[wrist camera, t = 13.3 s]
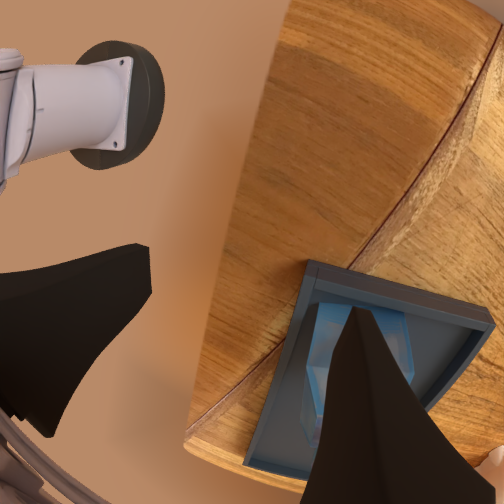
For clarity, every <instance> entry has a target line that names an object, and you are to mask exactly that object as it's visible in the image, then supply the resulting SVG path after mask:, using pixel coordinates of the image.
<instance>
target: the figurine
mask: <svg viewBox="0 0 504 504" xmlns="http://www.w3.org/2000/svg"><path fill="white" fill-rule="evenodd" d="M488 455H489V456H488V457H487V458H486V459H485V460H484V461H483V462H482V463H481V464H480V466H477V467H475V468H474V469H475V470H476V471H477V472H478V473H479V474H480V475H481V476H482V477H484V478H485V479H486V480H487V481H488V482H489V483H490V484H491V485H492V486H494V487H495V489H496V504H504V445H502V446H499V447H497V448H495V449H493V450H492V451H491V452H489V454H488Z"/></svg>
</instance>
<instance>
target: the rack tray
mask: <svg viewBox="0 0 504 504" xmlns="http://www.w3.org/2000/svg"><path fill="white" fill-rule="evenodd" d="M320 302H322V303H333V304H345V305H357V306H370V307H384V308H390V309H394V310H397V311H401V312H404V315H405V320H406V325H407V330H408V335H409V341H410V346H411V352H412V359H413V366H414V373H415V374H414V376H413V379H412V381H411V383H410V387H411V389H412V390H413V392H414V394H415V395H416V397H417V398H418V400H419V401H420V403H421V404H422V406H423V407H424V409H425V410H426V412H428V411H429V410H430V409H431V408H432V407H433V406H434V405H435V404H436V403H437V402H438V401H439V400H440V399H441V398H442V397H443V395H444V394H445V393H446V392H447V391H448V390H449V389H450V387H451V386H452V385H453V384H454V383H455V382H456V380H457V379H458V378H459V377H460V376H461V374H462V373H463V372H464V371H465V369H466V368H467V367H468V365H469V364H470V363H471V361H472V360H473V359H474V357H475V356H476V355H477V353H478V352H479V351H480V349H481V348H482V346H483V345H484V343H485V342H486V341H487V339H488V338H489V336H490V335H491V333H492V332H493V330H494V328H495V327H496V324H495V322H494V320H493V318H492V316H491V314H490V312H489V311H488V309H487V308H485V307H481V306H478V305H474V304H471V303H467V302H464V301H460V300H457V299H453V298H449V297H446V296H442V295H439V294H435V293H432V292H428V291H424V290H421V289H417V288H413V287H410V286H406V285H403V284H399V283H395V282H392V281H388V280H384V279H381V278H377V277H373V276H370V275H366V274H362V273H359V272H355V271H351V270H348V269H344V268H340V267H336V266H333V265H329V264H325V263H322V262H318V261H314V260H310V259H309V260H308V262H307V266H306V269H305V273H304V276H303V280H302V284H301V287H300V291H299V295H298V298H297V302H296V305H295V309H294V312H293V316H292V319H291V322H290V326H289V329H288V333H287V336H286V339H285V342H284V346H283V349H282V352H281V355H280V359H279V362H278V365H277V368H276V371H275V374H274V377H273V380H272V383H271V386H270V389H269V392H268V395H267V398H266V401H265V404H264V407H263V410H262V413H261V415H260V418H259V421H258V424H257V427H256V429H255V432H254V435H253V437H252V440H251V443H250V445H249V448H248V451H247V453H246V456H245V459H244V461H243V464H242V465H244V466H248V467H251V468H254V469H258V470H261V471H265V472H269V473H273V474H277V475H281V476H285V477H289V478H294V479H299V480H304V481H308V479H309V476H310V473H311V470H312V468H311V463H312V459H313V455H314V451H315V449H316V448H314V447H310V445H309V443H308V441H307V438H306V436H305V433H304V431H303V429H302V426H301V424H300V417H301V409H302V400H303V392H304V383H305V373H306V365H307V360H308V356H309V352H310V347H311V342H312V338H313V333H314V328H315V323H316V318H317V313H318V308H319V303H320Z"/></svg>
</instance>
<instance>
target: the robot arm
mask: <svg viewBox="0 0 504 504" xmlns="http://www.w3.org/2000/svg"><path fill="white" fill-rule="evenodd" d="M23 60H24V57H23V56H22V55H21V53H20V52H19V50H18V49H9V48H8V49H7V48H5V49H4V48H0V195H1V194H2V192H3V191H4V189H5V186H6V183H7V179H9V178H11V177H14V176H17V175H18V174H19V166H20V165H21V164H24V163H27V162H30V161H33V160H37V159H40V158H44V157H47V156H50V155H54V154H57V153H61V152H65V151H69V150H73V149H77V148H89V149H104V150H117V151H121V150H124V149H125V147H126V137H127V119H128V106H129V94H130V85H131V76H132V68H133V58H132V57H122V58H116V59H111V60H106V61H101V62H97V63H92V64H88V65H68V64H57V65H55V64H54V65H53V64H52V65H27V66H23V65H22V64H23ZM123 61H124V64H123V65H122V63H123ZM116 143H117V146H116ZM151 294H152V287H151V274H150V256H149V247H147V246H143V245H140V244H137V243H135V244H129V245H124V246H120V247H116V248H113V249H109V250H106V251H102V252H99V253H96V254H92V255H89V256H85V257H82V258H79V259H75V260H71V261H68V262H64V263H60V264H57V265H53V266H48V267H43V268H38V269H33V270H27V271H19V272H11V273H0V504H61V503H60V502H58V501H57V500H56V499H55V498H53V497H52V496H51V495H50V494H48V493H47V492H46V491H45V490H44V489H42V488H41V487H42V486H43V484H44V482H43V480H42V479H41V477H40V476H39V475H38V474H37V473H36V471H37V472H38V473H39V474H40V475H41V476H42V477H43V478H44V479H45V480H47V481H48V482H49V483H50V484H51V485H52V486H53V487H55V488H56V489H57V490H58V491H59V492H61V493H62V494H63V495H64V496H66V497H67V498H68V499H69V500H71V501H72V502H73V503H75V504H111V503H109V502H108V501H106V500H104V499H103V498H101V497H100V496H98V495H97V494H95V493H94V492H92V491H91V490H90V489H88V488H87V487H85V486H84V485H83V484H81V483H80V482H78V481H77V480H76V479H75V478H73V477H72V476H71V475H69V474H68V473H67V472H66V471H64V470H63V469H62V468H61V467H60V466H58V465H57V464H56V463H55V462H54V461H53V460H51V459H50V458H49V457H48V456H47V455H46V454H45V453H44V452H42V451H41V450H40V449H39V448H38V447H37V446H36V445H35V444H34V443H33V442H32V441H31V440H30V439H29V438H28V437H27V436H26V435H25V434H24V433H23V432H22V431H21V430H20V429H19V428H18V427H17V426H16V425H15V424H14V423H13V421H12V420H11V419H10V418H11V417H12V416H13V415H15V416H16V417H17V418H18V419H19V420H20V421H23V420H24V419H26V420H27V421H28V422H29V423H30V424H31V425H32V426H33V427H34V428H35V429H36V430H37V431H38V432H40V433H41V434H42V435H43V436H44V437H46V438H51V437H53V436H54V434H55V431H56V429H57V426H58V424H59V422H60V419H61V417H62V415H63V412H64V410H65V408H66V407H67V405H68V403H69V401H70V399H71V397H72V395H73V393H74V391H75V390H76V388H77V387H78V385H79V383H80V382H81V380H82V379H83V377H84V375H85V374H86V372H87V371H88V370H89V368H90V367H91V365H92V364H93V362H94V361H95V360H96V358H97V357H98V356H99V355H100V353H101V352H102V351H103V350H104V349H105V348H106V347H107V345H109V343H110V342H111V341H112V340H113V339H114V338H115V337H116V336H117V335H118V334H119V333H120V332H121V331H122V330H123V329H124V327H125V326H126V325H127V324H128V323H129V322H130V321H131V320H132V319H133V318H134V317H135V316H136V314H137V313H138V312H139V311H140V309H141V308H142V307H143V305H144V304H145V302H146V301H147V300H148V298H149V297H150V295H151ZM7 441H8V442H9V443H10V444H11V446H12V447H13V448H14V449H15V450H16V451H17V452H18V453H19V454H20V455H21V456H22V457H23V458H24V459H25V460H26V461H27V463H29V464H30V465H31V466H32V467H33V468H34V469H35V470H36V471H34V469H32V468H31V467H30V466H29V465H28V464H27V463H26V462H25V461H23V460H22V459H21V458H20V457H19V456H18V455H17V454H15V453H14V452H13V451H12V450H11V449H10V448H8V446H7ZM300 504H496V489H495V487H494V486H492V485H491V484H490V483H489V482H488V481H487V480H486V479H485V478H484V477H482V476H481V475H480V474H479V473H478V472H477V471H476V470H475V469H474V468H473V467H472V466H471V465H470V464H469V463H468V462H467V461H466V460H465V459H464V458H463V457H462V456H461V455H460V454H459V453H458V451H457V450H456V449H455V448H454V447H453V446H452V445H451V443H450V442H449V441H448V440H447V439H446V437H445V436H444V435H443V433H442V432H441V431H440V430H439V428H438V427H437V426H436V424H435V423H434V422H433V420H432V419H431V418H430V416H429V415H428V413H427V412H426V410H425V409H424V407H423V406H422V404H421V403H420V401H419V400H418V398H417V397H416V395H415V394H414V392H413V390H412V389H411V387H410V385H409V384H408V382H407V380H406V378H405V377H404V375H403V373H402V371H401V370H400V368H399V366H398V364H397V362H396V360H395V358H394V356H393V355H392V353H391V351H390V349H389V347H388V345H387V343H386V341H385V339H384V336H383V334H382V332H381V330H380V328H379V326H378V324H377V322H376V320H375V318H374V316H373V314H372V312H371V310H367V309H363V308H359V307H356V306H352V309H351V311H350V314H349V316H348V318H347V321H346V323H345V325H344V328H343V330H342V332H341V334H340V337H339V339H338V341H337V343H336V345H335V347H334V350H333V353H332V358H331V363H330V367H329V372H328V377H327V386H326V395H325V404H324V412H323V420H322V428H321V435H320V440H319V445H318V449H317V453H316V456H315V460H314V463H313V466H312V470H311V473H310V476H309V479H308V482H307V485H306V488H305V491H304V493H303V496H302V499H301V501H300Z"/></svg>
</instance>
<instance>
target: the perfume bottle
mask: <svg viewBox="0 0 504 504" xmlns="http://www.w3.org/2000/svg"><path fill="white" fill-rule="evenodd" d="M352 306H356V307H359V308H363V309H367V310H371V312H372V314H373V316H374V318H375V320H376V322H377V324H378V326H379V328H380V330H381V332H382V334H383V336H384V339H385V341H386V343H387V345H388V347H389V349H390V351H391V353H392V355H393V356H394V358H395V360H396V362H397V364H398V366H399V368H400V370H401V371H402V373H403V375H404V377H405V378H406V380H407V382H408V384H409V385H410V383H411V381H412V379H413V376H414V374H415V373H414V366H413V359H412V352H411V346H410V341H409V335H408V330H407V325H406V320H405V315H404V312H401V311H397V310H394V309H390V308H384V307H370V306H357V305H345V304H333V303H322V302H320V303H319V308H318V313H317V318H316V323H315V328H314V333H313V338H312V342H311V347H310V352H309V356H308V360H307V365H306V373H305V383H304V392H303V400H302V409H301V417H300V424H301V426H302V429H303V431H304V433H305V436H306V438H307V441H308V443H309V445H310V447H314V448H316V449H315V451H314V455H313V459H312V463H311V468H312V466H313V463H314V460H315V456H316V453H317V449H318V445H319V440H320V435H321V428H322V420H323V412H324V404H325V395H326V386H327V377H328V372H329V367H330V363H331V358H332V353H333V350H334V347H335V345H336V343H337V341H338V339H339V337H340V334H341V332H342V330H343V328H344V325H345V323H346V321H347V318H348V316H349V314H350V311H351V309H352Z"/></svg>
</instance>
